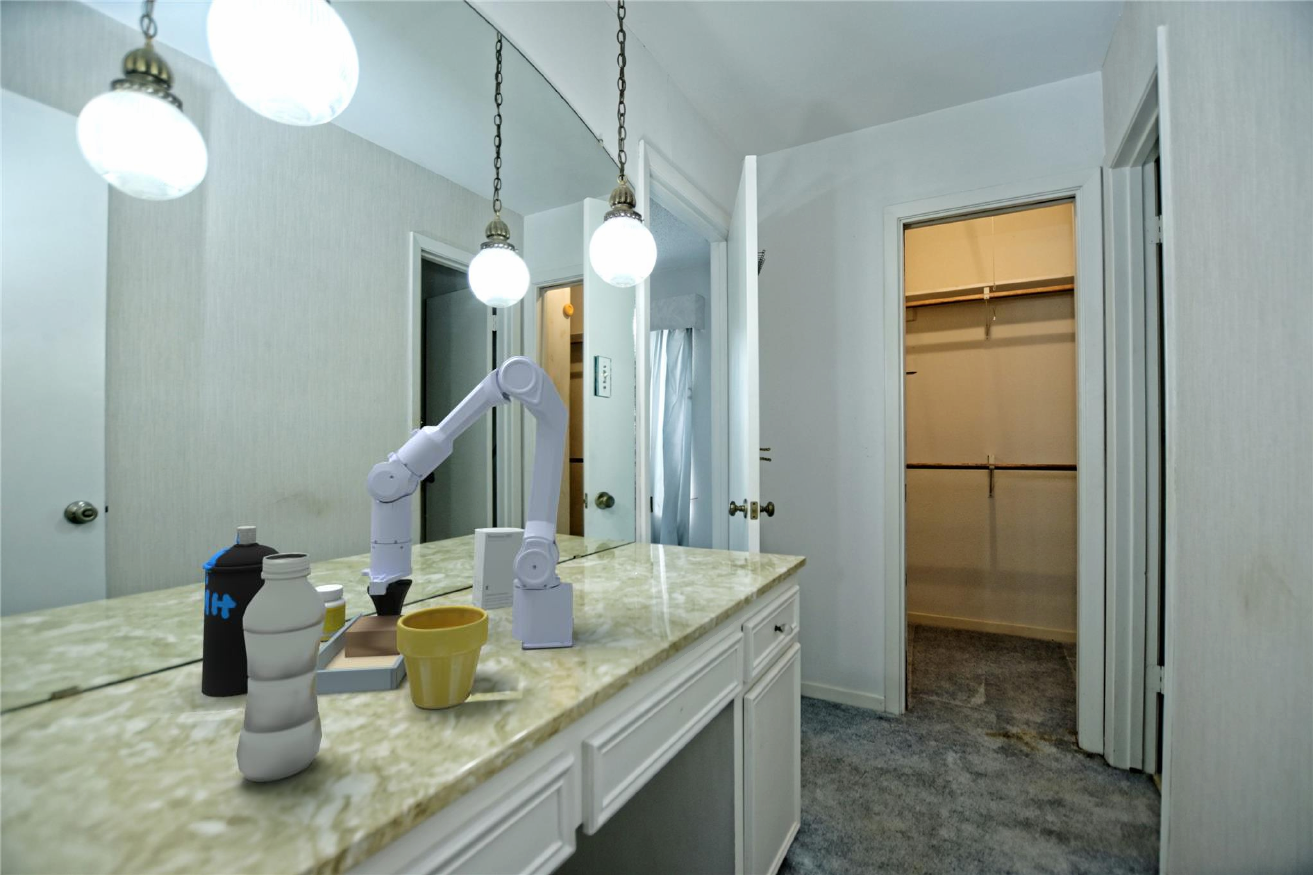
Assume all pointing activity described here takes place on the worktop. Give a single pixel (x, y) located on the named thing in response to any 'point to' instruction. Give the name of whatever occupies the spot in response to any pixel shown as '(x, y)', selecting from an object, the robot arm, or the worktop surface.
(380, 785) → the worktop surface
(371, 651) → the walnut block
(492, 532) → the skincare box
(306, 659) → the plastic bottle
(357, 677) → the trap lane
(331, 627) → the supplement bottle
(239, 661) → the aerosol can
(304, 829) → the worktop surface
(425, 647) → the plant pot
